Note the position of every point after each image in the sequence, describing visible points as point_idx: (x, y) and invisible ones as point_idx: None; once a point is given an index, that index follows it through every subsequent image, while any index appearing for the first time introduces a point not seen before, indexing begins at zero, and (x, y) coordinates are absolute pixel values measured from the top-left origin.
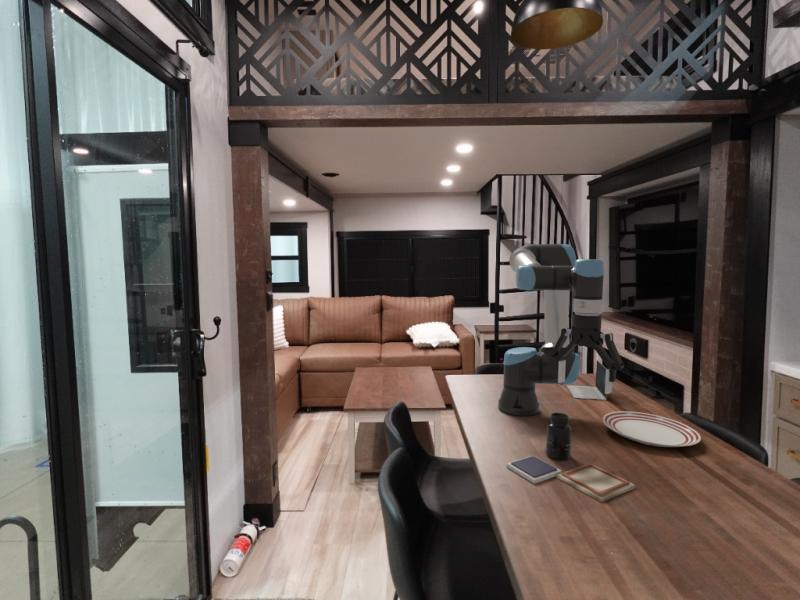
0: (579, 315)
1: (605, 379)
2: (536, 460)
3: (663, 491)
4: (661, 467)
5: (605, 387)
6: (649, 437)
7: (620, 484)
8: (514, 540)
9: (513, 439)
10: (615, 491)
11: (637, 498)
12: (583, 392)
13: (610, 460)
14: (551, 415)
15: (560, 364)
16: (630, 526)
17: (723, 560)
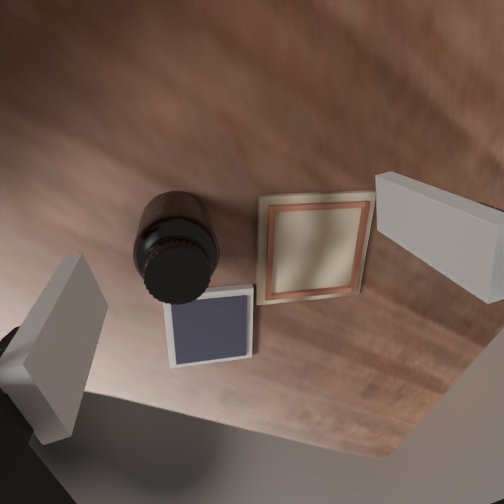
0: None
1: (432, 266)
2: (194, 312)
3: (415, 145)
4: (373, 7)
5: (400, 243)
6: None
7: (363, 229)
8: (332, 440)
9: (25, 262)
10: (362, 252)
11: None
12: None
13: (268, 109)
14: (161, 301)
15: (73, 413)
16: (412, 302)
17: None
